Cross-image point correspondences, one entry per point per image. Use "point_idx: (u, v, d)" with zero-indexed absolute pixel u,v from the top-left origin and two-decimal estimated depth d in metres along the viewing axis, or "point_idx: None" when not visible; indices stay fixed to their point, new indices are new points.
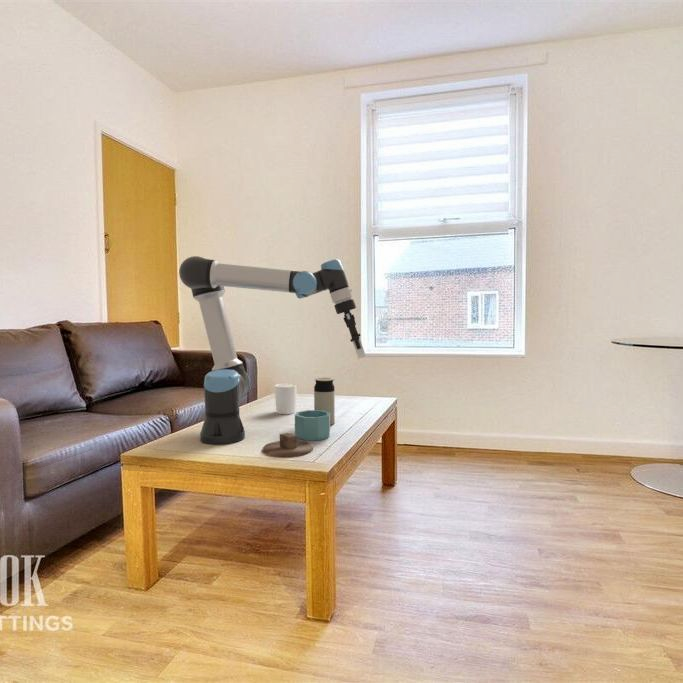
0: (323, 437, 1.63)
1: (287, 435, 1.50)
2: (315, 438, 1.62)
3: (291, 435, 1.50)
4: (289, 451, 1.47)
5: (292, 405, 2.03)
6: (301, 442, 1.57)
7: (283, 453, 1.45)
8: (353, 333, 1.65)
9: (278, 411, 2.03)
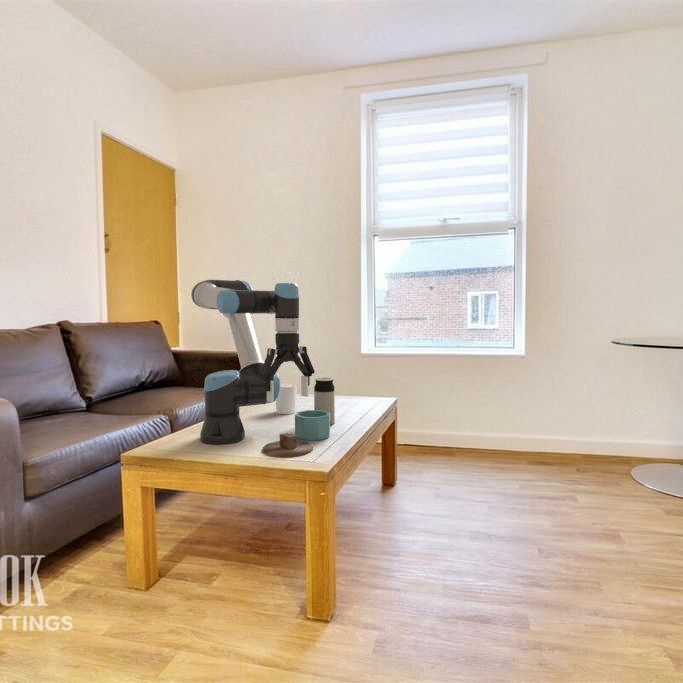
0: (323, 437, 1.63)
1: (287, 435, 1.50)
2: (315, 438, 1.62)
3: (291, 435, 1.50)
4: (289, 451, 1.47)
5: (292, 405, 2.03)
6: (301, 442, 1.57)
7: (283, 453, 1.45)
8: (262, 372, 1.43)
9: (278, 411, 2.03)
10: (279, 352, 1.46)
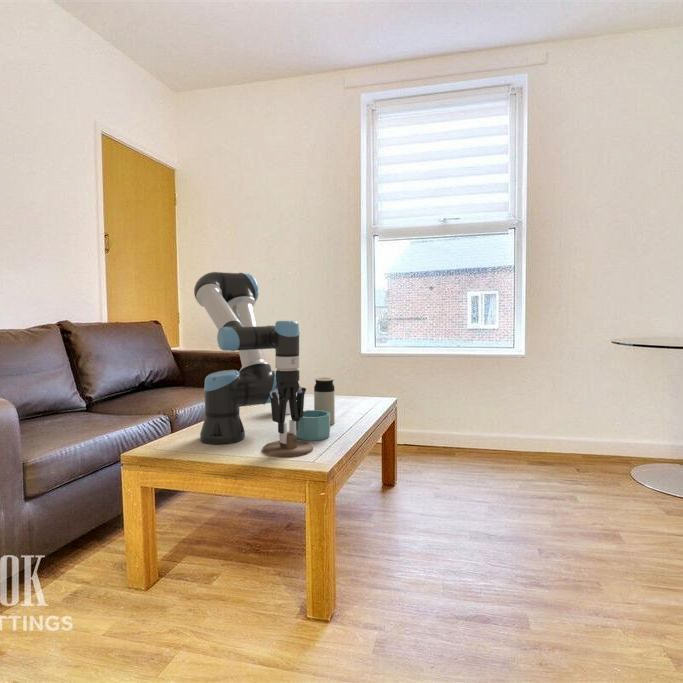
0: (323, 437, 1.63)
1: (287, 435, 1.50)
2: (315, 438, 1.62)
3: (291, 435, 1.50)
4: (289, 451, 1.47)
5: None
6: (301, 442, 1.57)
7: (283, 453, 1.45)
8: (273, 416, 1.47)
9: None
10: (280, 391, 1.47)
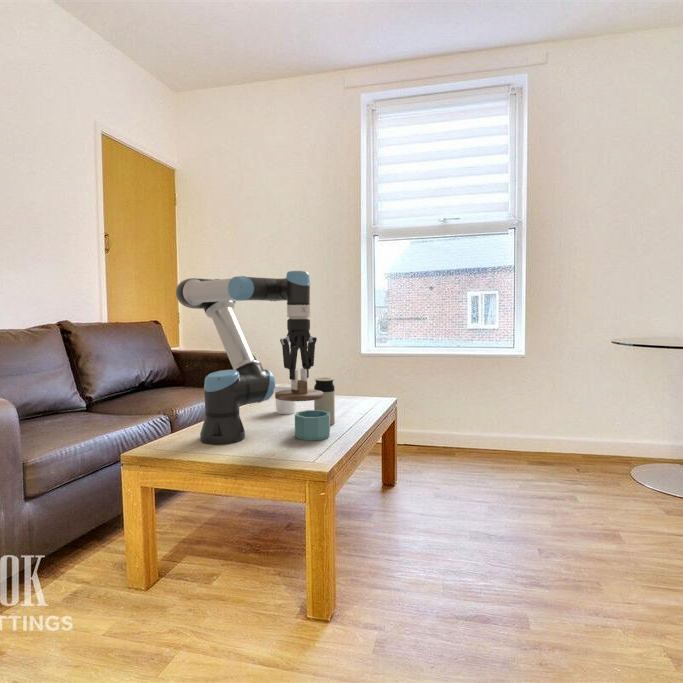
0: (323, 437, 1.63)
1: (298, 381, 1.56)
2: (315, 438, 1.62)
3: (302, 381, 1.55)
4: (299, 395, 1.52)
5: (292, 405, 2.03)
6: (312, 390, 1.62)
7: (293, 396, 1.50)
8: (285, 362, 1.53)
9: (278, 411, 2.03)
10: (291, 338, 1.53)
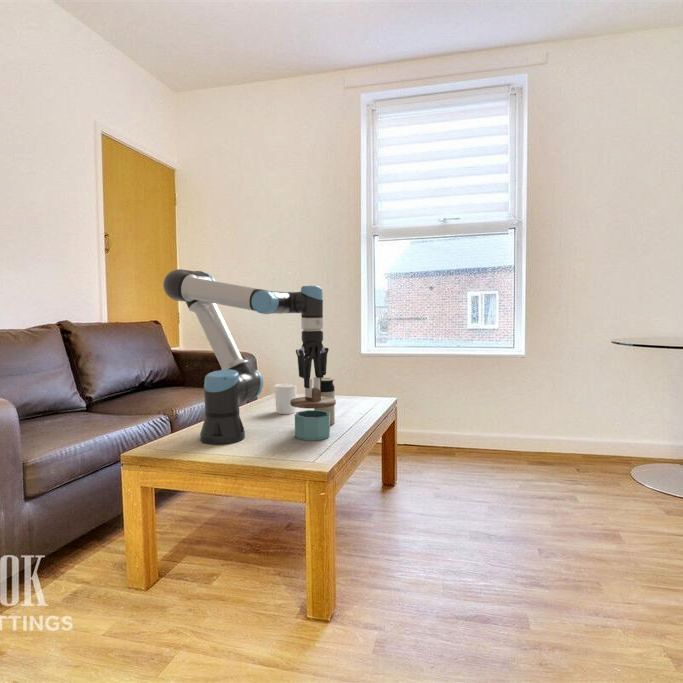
0: (323, 437, 1.63)
1: (312, 389, 1.65)
2: (315, 438, 1.62)
3: (316, 389, 1.65)
4: (314, 402, 1.62)
5: None
6: (324, 397, 1.72)
7: (309, 404, 1.60)
8: (300, 372, 1.62)
9: (278, 411, 2.03)
10: (306, 349, 1.62)
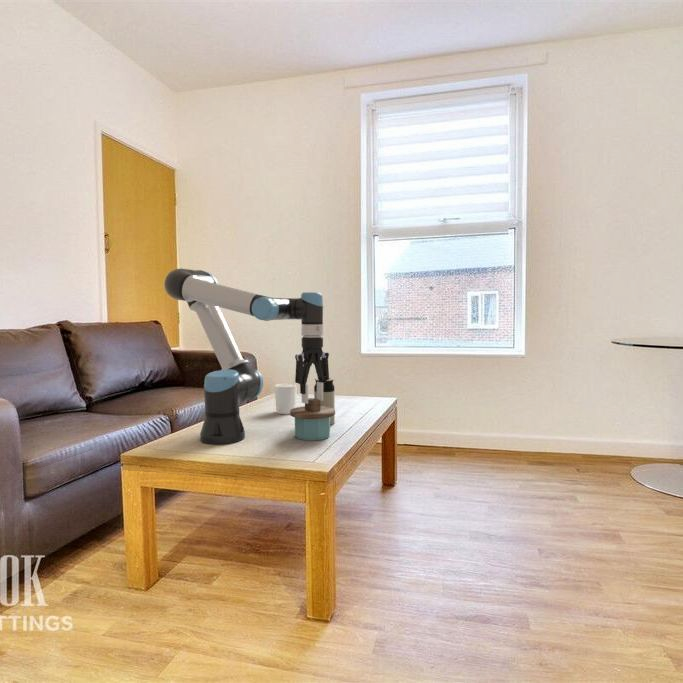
0: (323, 437, 1.63)
1: (312, 399, 1.66)
2: (315, 438, 1.62)
3: (316, 399, 1.65)
4: (314, 413, 1.62)
5: (292, 405, 2.03)
6: (323, 407, 1.72)
7: (309, 414, 1.60)
8: (296, 377, 1.62)
9: (278, 411, 2.03)
10: (306, 355, 1.62)
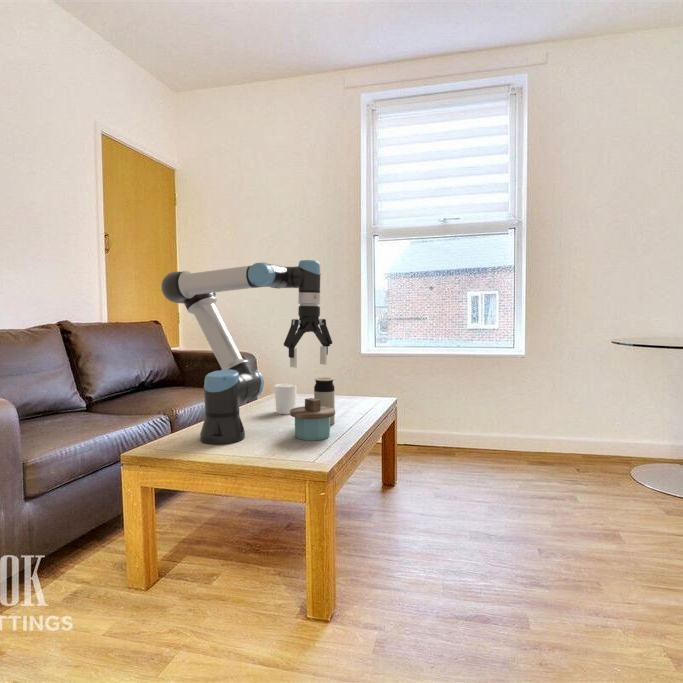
0: (323, 437, 1.63)
1: (312, 399, 1.66)
2: (315, 438, 1.62)
3: (316, 399, 1.65)
4: (314, 413, 1.62)
5: (292, 405, 2.03)
6: (323, 407, 1.72)
7: (309, 414, 1.60)
8: (286, 340, 1.59)
9: (278, 411, 2.03)
10: (302, 323, 1.61)
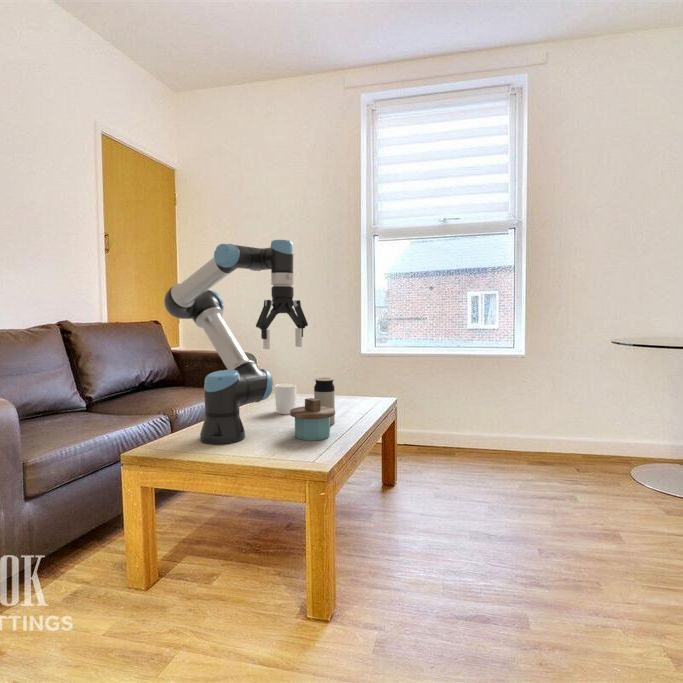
0: (323, 437, 1.63)
1: (312, 399, 1.66)
2: (315, 438, 1.62)
3: (316, 399, 1.65)
4: (314, 413, 1.62)
5: (292, 405, 2.03)
6: (323, 407, 1.72)
7: (309, 414, 1.60)
8: (259, 321, 1.56)
9: (278, 411, 2.03)
10: (275, 303, 1.59)
